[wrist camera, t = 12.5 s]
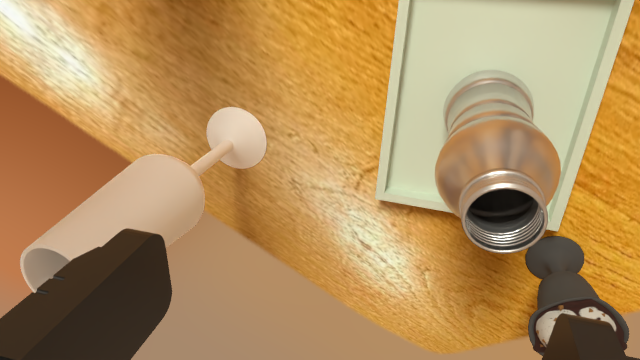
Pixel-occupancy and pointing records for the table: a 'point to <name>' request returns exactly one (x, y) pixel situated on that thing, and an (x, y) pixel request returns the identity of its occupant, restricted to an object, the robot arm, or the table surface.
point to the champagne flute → (146, 197)
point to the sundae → (565, 291)
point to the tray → (504, 55)
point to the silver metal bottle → (496, 162)
